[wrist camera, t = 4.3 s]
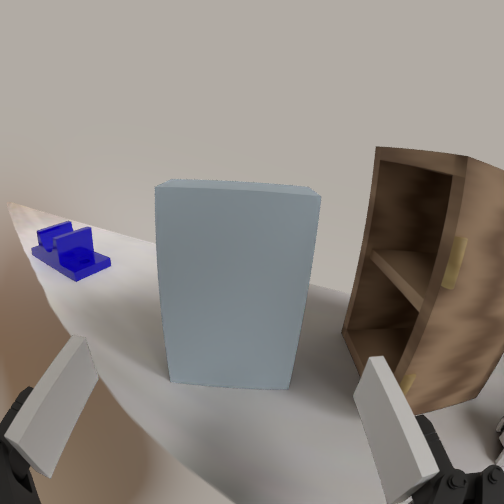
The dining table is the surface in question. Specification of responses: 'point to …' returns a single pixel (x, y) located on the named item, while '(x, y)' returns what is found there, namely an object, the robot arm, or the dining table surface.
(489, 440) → the dining table surface
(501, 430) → the white rounded housing
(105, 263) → the mounting bracket
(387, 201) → the cabinet
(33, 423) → the robot arm
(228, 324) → the upright grey-blue slab
